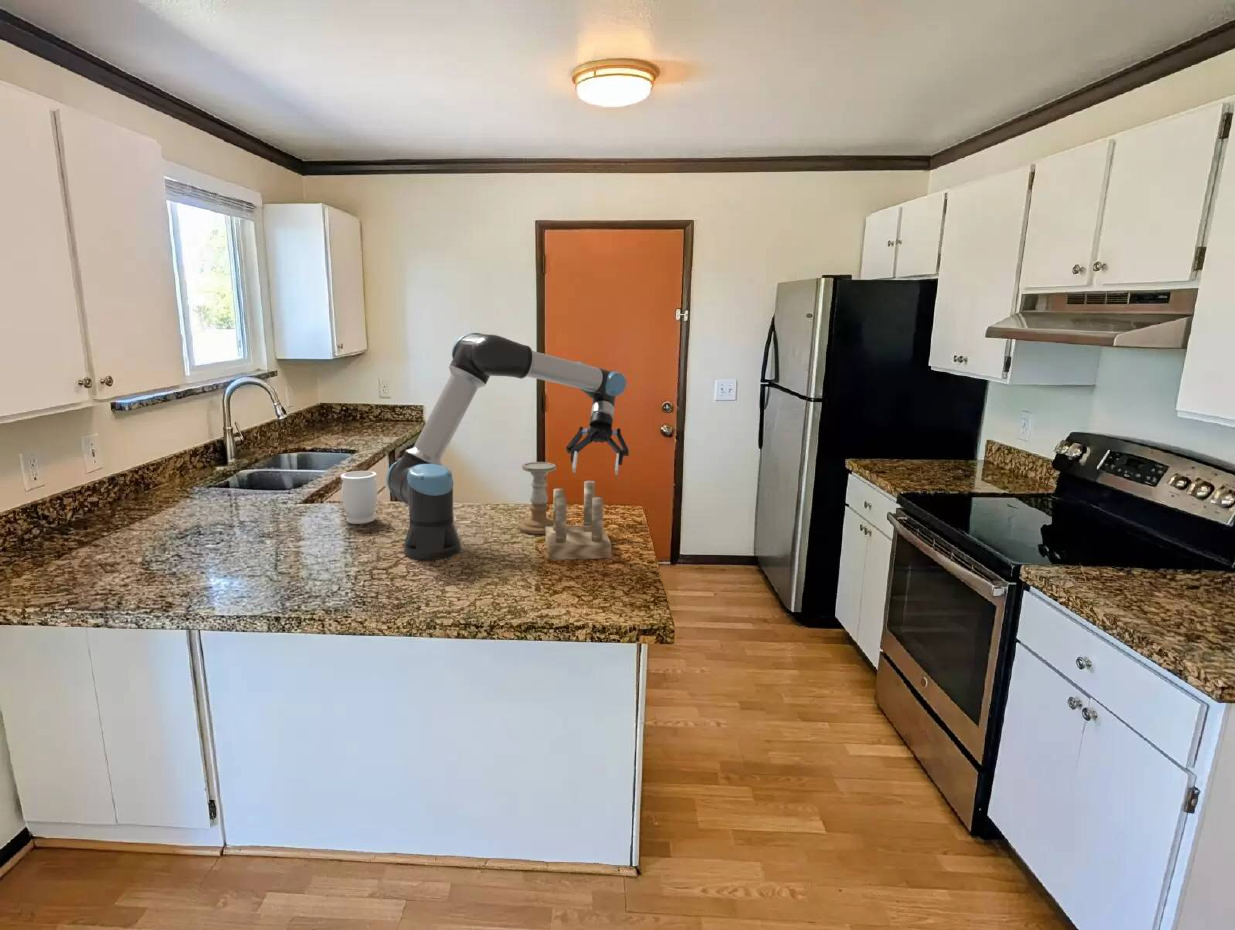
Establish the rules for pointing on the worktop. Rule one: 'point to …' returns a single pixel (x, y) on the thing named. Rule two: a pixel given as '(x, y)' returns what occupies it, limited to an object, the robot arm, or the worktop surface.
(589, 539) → the stool
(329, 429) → the worktop surface
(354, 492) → the jar
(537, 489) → the candle holder
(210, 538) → the worktop surface
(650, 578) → the worktop surface
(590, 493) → the stool leg
